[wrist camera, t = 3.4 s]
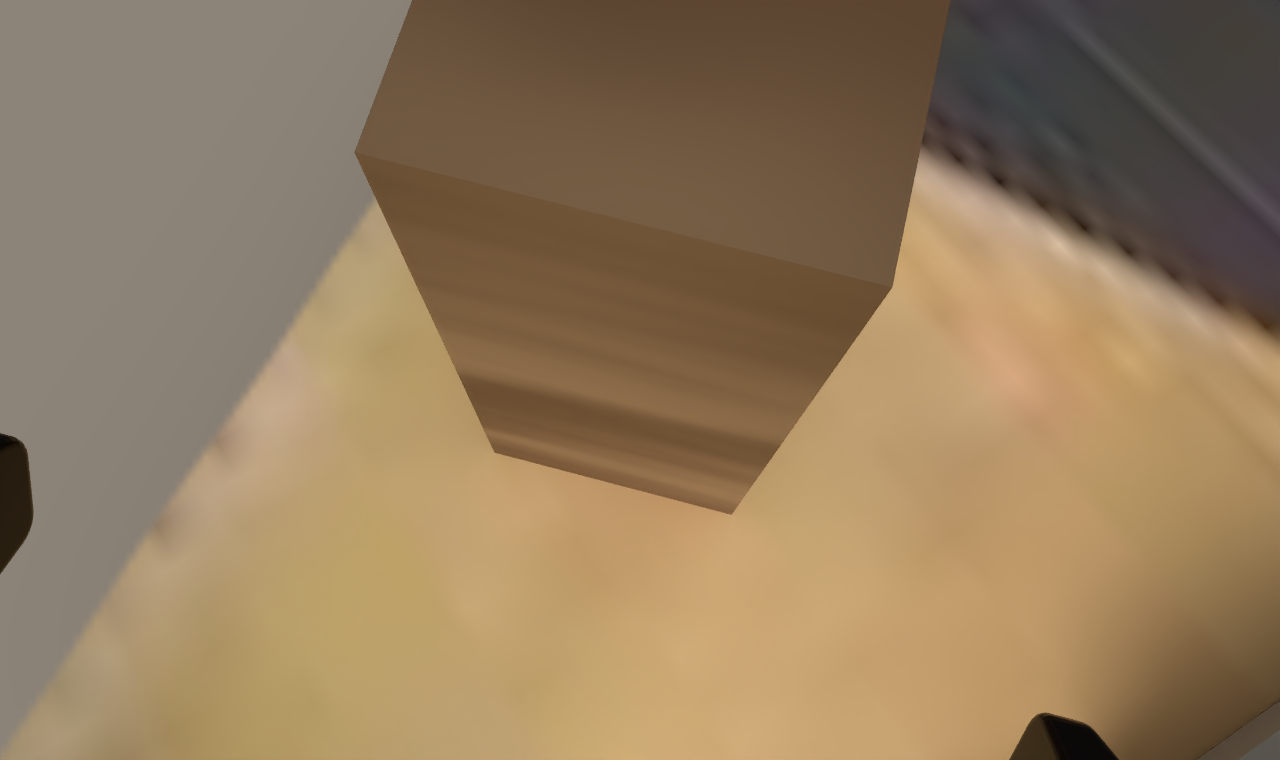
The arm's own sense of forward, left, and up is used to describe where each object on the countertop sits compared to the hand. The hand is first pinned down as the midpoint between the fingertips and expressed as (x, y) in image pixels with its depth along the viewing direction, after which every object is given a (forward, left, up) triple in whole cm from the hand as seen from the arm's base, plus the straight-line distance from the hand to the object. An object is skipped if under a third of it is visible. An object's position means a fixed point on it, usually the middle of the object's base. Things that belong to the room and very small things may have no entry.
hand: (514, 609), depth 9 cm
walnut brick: (+2, +5, -12) cm, 13 cm away
